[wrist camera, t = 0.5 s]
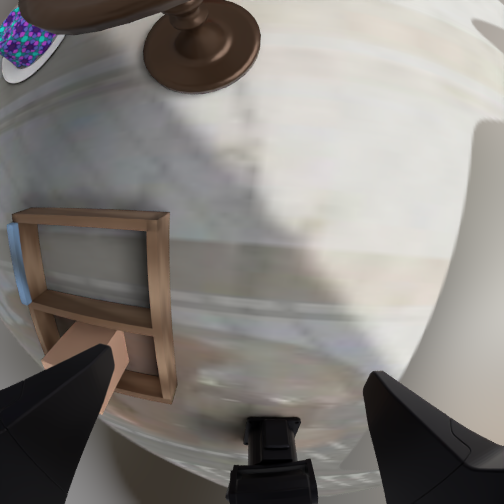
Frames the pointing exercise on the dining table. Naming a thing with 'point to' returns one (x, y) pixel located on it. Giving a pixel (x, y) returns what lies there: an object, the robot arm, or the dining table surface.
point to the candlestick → (166, 36)
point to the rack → (98, 311)
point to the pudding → (23, 47)
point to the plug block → (85, 338)
